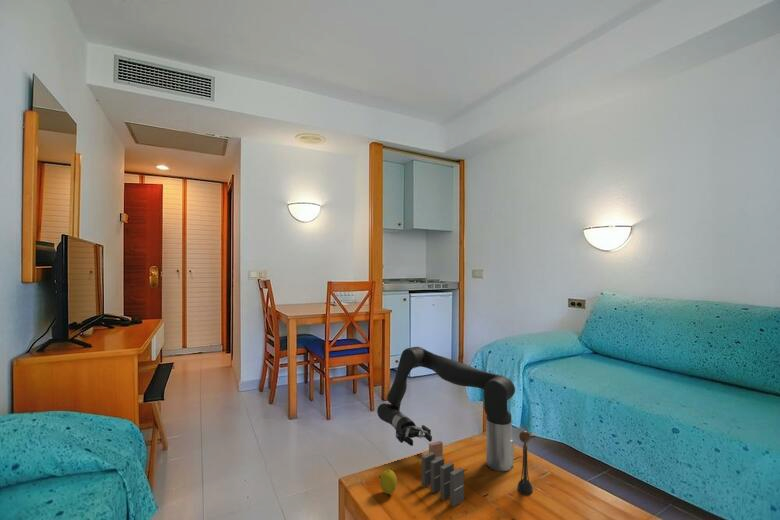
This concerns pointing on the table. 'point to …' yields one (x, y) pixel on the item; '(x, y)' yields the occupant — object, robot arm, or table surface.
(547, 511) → the table surface
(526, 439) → the wooden tabletop sculpture
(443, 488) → the charcoal domino
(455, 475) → the charcoal domino
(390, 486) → the lemon
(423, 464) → the charcoal domino
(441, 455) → the terracotta domino
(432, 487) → the charcoal domino
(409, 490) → the table surface
